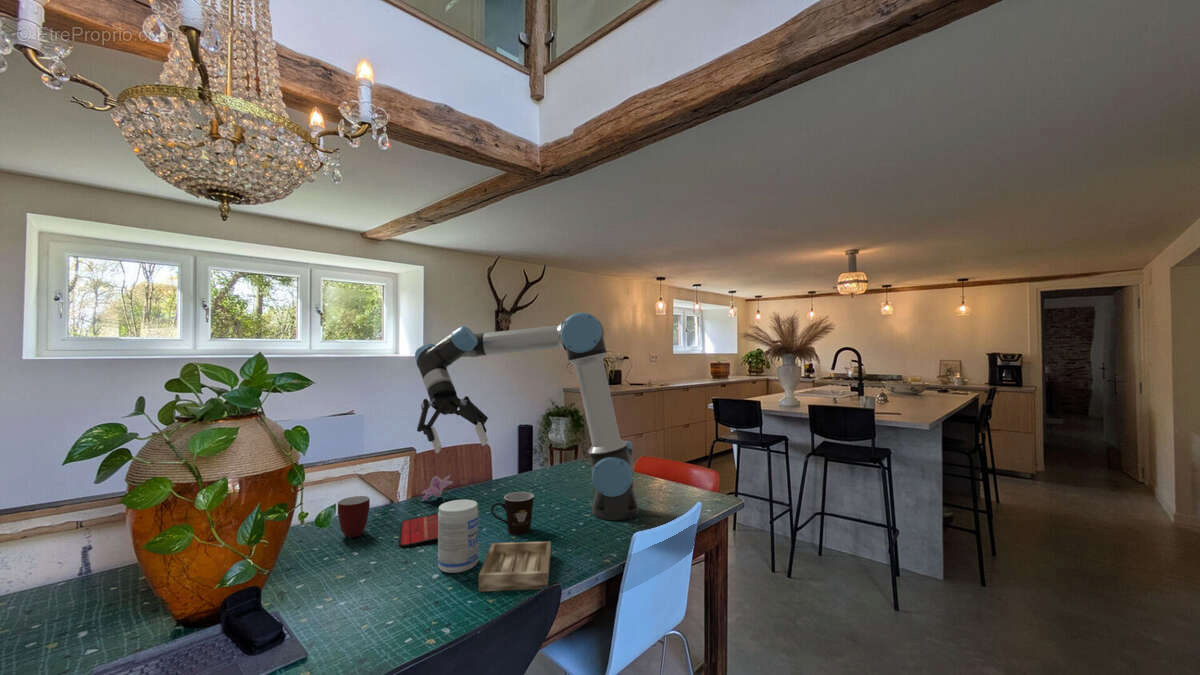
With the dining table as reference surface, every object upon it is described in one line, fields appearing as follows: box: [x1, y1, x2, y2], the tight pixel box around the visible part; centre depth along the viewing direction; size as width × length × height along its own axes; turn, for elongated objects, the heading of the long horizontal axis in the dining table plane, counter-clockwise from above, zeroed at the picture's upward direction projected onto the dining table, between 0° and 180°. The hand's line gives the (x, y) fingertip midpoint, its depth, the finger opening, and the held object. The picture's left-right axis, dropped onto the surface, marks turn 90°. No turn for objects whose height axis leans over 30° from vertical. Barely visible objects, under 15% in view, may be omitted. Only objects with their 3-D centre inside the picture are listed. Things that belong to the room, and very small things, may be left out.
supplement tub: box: [437, 499, 479, 574], centre depth 114 cm, size 10×10×15 cm
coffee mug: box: [490, 491, 535, 536], centre depth 135 cm, size 12×9×10 cm
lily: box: [421, 474, 454, 503], centre depth 162 cm, size 12×12×10 cm
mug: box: [337, 495, 371, 538], centre depth 133 cm, size 11×8×10 cm
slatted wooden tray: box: [478, 540, 552, 593], centre depth 110 cm, size 15×17×4 cm
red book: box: [398, 513, 438, 549], centre depth 136 cm, size 16×2×21 cm
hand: (463, 446), depth 126 cm, fingers open, 13 cm apart
